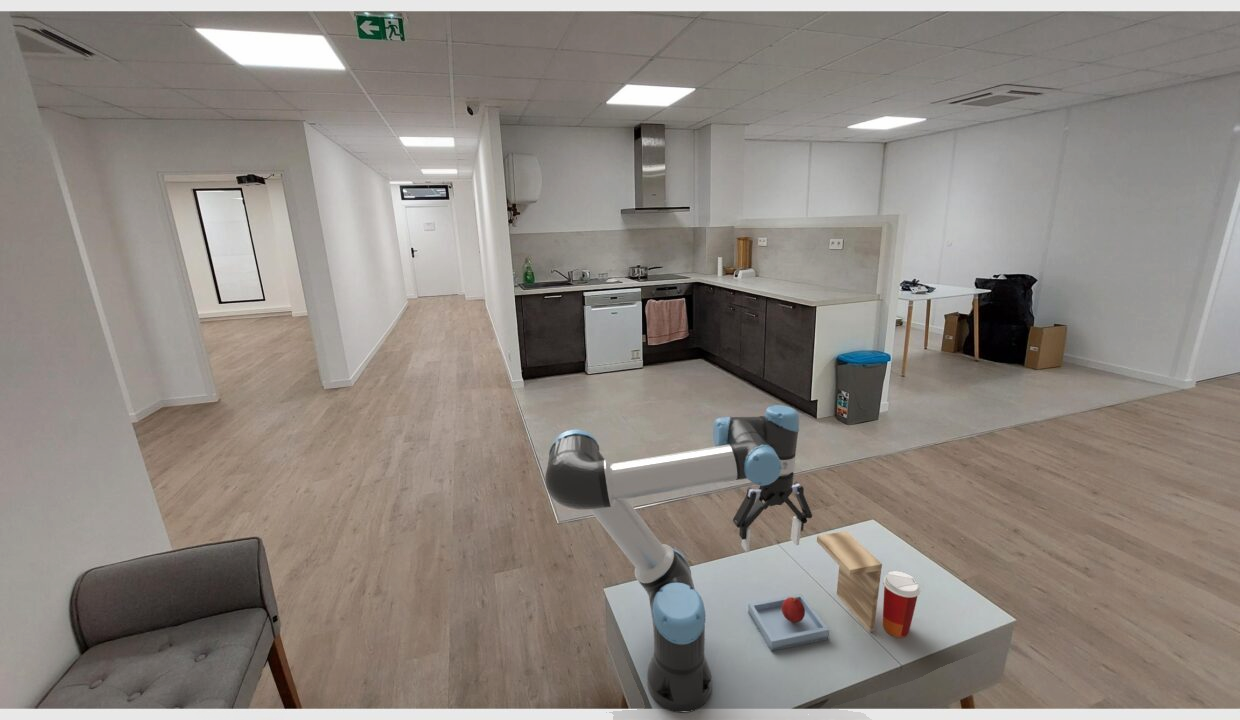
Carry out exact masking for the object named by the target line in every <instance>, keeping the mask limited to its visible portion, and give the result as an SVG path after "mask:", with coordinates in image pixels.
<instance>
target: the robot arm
mask: <svg viewBox="0 0 1240 720" xmlns="http://www.w3.org/2000/svg"><path fill="white" fill-rule="evenodd" d="M799 426H800V415H799V412H798V411H797V410H796V409H794V408H793V407H790V406H787V405H779V404H775V405H771V406H768V407H767V408H766V410H765V413H764V415H761V416H727V417H726V416H725V417H724V416H723V417H718V418H716V419H715V420H714V422H713V425H712V439H713V444H714V446H711V447H706V448H698V449H693V450H687V451H682V452H681V451H680V452H674V453H669V454H663V455H657V456H650V457H645V458H644V457H643V458H639V459H632V460H626V461H620V462H615V463H614V462H612V463H611V462H610V461H609V460H607V459H605V458H604V456H603V455H602V454H601V452H600V445H599V443H598V441H597V439H596V438H595V437H594V436H593V435H592V434H591V433H590V432H589V431H585V430H583V429H569V430H566V431H564V432H562V433H560V434H559V435H558V436H556V438H555V439H554V440H553V442H552V444H551V447H550V448H549V451H548V452H549V453H548V462H547V467H546V470H545V477H544V479H545V480H544V481H545V482H544V483H545V487H546V490H547V492H548V494H549V495H550V497H551V498H552V499H553V500H554V501H555V502H556V503H558V504H559V505H561V506H563V507H565V508H569V509H571V510H579V511H580V510H582V511H583V510H584V511H588V510H589V512H590V513H591V514H592V515H593V516H594V517H595V519H596V520H597V521H598V523H600V525H601V526H602V527H603V529H604V530H605V531H606V532H607V534H608V535H609V536H610V537H611V539H612V540H613V541H614V542H615V544H616V545H617V546H618V547H619V549H620V550H621V551H622V552H623V554H624V555H625V557H626V558H627V559H628V560H629V561H630V563H632V565H633V566H634V576H635V577H634V578H635V579H636V580H637V581H638V582H639V584H640V585H641V587H642V588H643V589H644V590H645V592H646V593H647V595H648V598H649V607H650V614H651V619H652V627H653V628H652V629H653V654H652V657H651V660H650V661H649V664H648V667H647V687H648V691H649V693H650V695H651V696H652V698H653V699H654V700H655V702H657V704H658V705H660V706H661V707H663V708H664V709H666V710H669V711H672V712H675V711H690V712H692V711H691V710H693V711H695V710H697V709H700V708H701V707H703V706H704V705H705V703H706V702H707V701H708V700H709V698H710V697H711V693H712V687H713V686H712V685H713V683H712V681H713V680H712V671H711V669H710V666H709V664H708V662H707V659H706V656H705V640H706V639H705V636H706V635H705V633H706V631H705V629H706V619H707V618H706V617H707V616H706V609H705V604H704V600H703V598H702V596H701V595H700V594H699V592H698V591H697V590H696V587H695V584H694V580H693V578H692V571H691V568H690V565H689V562H688V561H687V560H686V558H685V556H684V555H683V553H681V552H680V551H679V550H677V549H675V548H672V546H670V545H668V544H666V543H661V542H660V540H659V539H658V538H657V536H656V535H655V534H654V532H653V531H652V530H651V529H650V528H649V526H648V525H647V523H646V522H645V520H644V519H643V518H642V517H641V515H640V514H639V513H638V511H637V510H636V509H635V508H634V507H633V505H632V504H631V502H630V501H629V499H634V498H640V497H646V496H651V495H658V494H662V493H668V492H669V493H670V492H675V491H680V490H681V491H682V490H686V489H692V488H697V487H703V486H707V485H708V486H710V485H715V484H723V483H726V482H727V483H728V482H732V481H738V480H746V479H747V480H748V481H749V482H750V483H752V484H754V485H756V486H759V488H757V489H755V488H754V489H753V488H752V487H750V486H749V487H748V488H746V489H747V490H746V495H745V496H744V499H743V501H742V502H741V504H740V506H739V508H738V510H737V511H736V513H735V515H734V516H733V519H732V522H733V524H734V525H735V526H736V528H738V529H739V532H738V533H739V537H740V539H741V544H740V545H741V547H742V548H743V550H744V552H745V553H749V552H750V544H751V543H750V542H751V532H752V531H751V530H752V529H751V527H750V526H751V525H752V523H754V522H755V520H756V519H757V518H758V517H759V516H760V514H761V513H762V512H764V510H767V509H768V508H769V507H774V506H782V505H783V504H784V503H785V504H786V505H787V507H789V509H790V510H791V511H792V512H793V513H794V515H795V516H793V517H792V523H791V530H790V540H791V541H792V542H793V543H794V545H795V546H799V545H800V540H801V532H803V531H804V526H805V525H804V524H807V523H808V519H811V518H813V514H812V511H811V508H810V507H809V503H808V502H807V499H806V497H805V494H804V490H805V489H804V486H802V485H801V484H800V483H799V482H798V481H795V482H794V477H795V476H794V475H795V474H794V471H795V461H796V455H797V454H796V453H797V452H796V451H797V445H798V443H797V442H798V436H799V435H798V434H799V432H800V427H799ZM792 493H794V495H795V498H796V499H797V502H798V504H799V507H800V509H801V511H800V510H799V509H798V507H796V505H795V504H794V503H793V501H792V500H791V499H790V498H789V497H791V495H792ZM763 501H764V502H763Z"/></svg>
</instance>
